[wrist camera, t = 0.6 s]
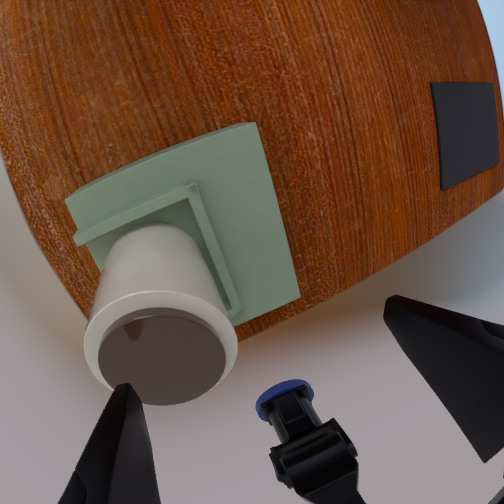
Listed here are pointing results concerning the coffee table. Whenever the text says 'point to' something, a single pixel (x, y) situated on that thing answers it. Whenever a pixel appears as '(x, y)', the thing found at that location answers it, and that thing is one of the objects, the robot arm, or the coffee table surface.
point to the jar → (159, 318)
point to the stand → (201, 214)
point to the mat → (465, 129)
